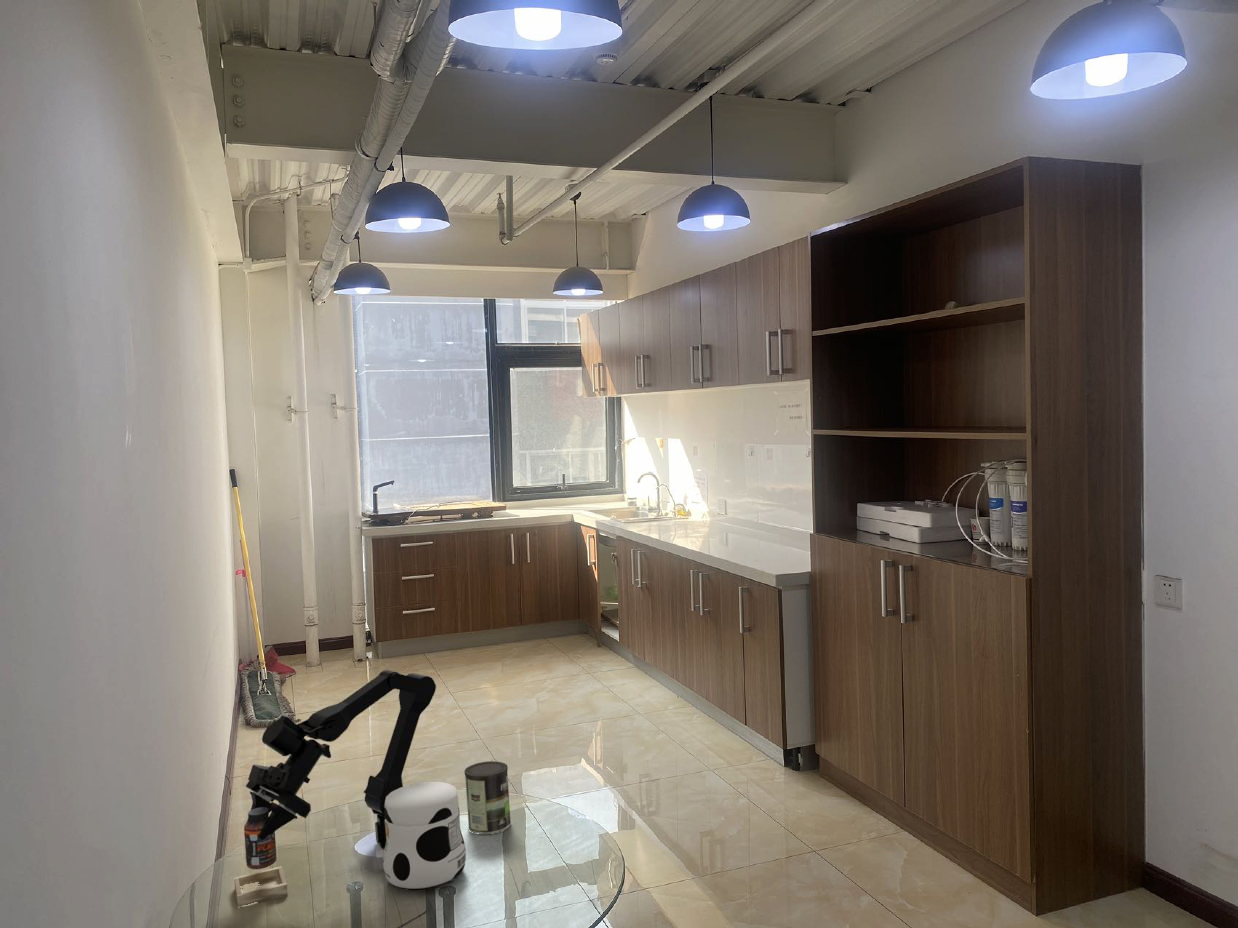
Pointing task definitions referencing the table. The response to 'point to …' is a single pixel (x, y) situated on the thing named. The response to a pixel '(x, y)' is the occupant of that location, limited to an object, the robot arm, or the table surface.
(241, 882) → the tray
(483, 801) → the coffee can
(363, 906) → the table surface
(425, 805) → the milk container
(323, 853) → the table surface
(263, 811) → the supplement bottle
